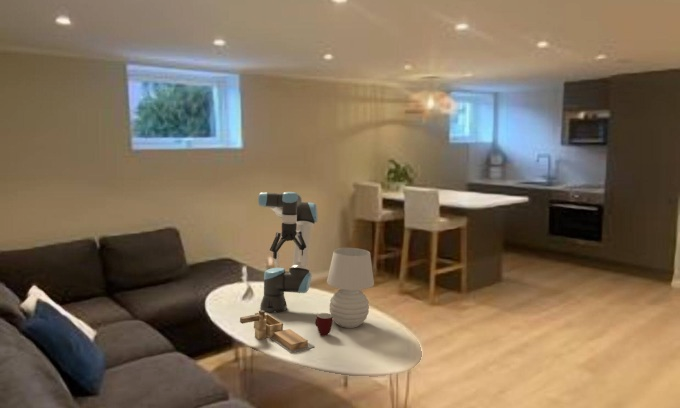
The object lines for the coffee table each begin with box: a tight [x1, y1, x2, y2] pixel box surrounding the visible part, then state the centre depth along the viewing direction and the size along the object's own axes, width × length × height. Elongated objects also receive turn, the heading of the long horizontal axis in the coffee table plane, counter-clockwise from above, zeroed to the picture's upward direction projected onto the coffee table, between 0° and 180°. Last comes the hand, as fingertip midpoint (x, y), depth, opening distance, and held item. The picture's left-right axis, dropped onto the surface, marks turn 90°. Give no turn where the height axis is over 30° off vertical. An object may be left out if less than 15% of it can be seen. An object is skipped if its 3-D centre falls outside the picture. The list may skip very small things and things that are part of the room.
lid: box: [274, 328, 309, 351], centre depth 249 cm, size 9×17×3 cm, turn 36°
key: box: [239, 309, 266, 324], centre depth 250 cm, size 12×2×4 cm, turn 126°
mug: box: [314, 312, 334, 337], centre depth 262 cm, size 11×8×10 cm
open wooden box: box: [253, 312, 284, 340], centre depth 261 cm, size 13×16×12 cm
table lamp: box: [326, 247, 375, 329], centre depth 275 cm, size 25×25×40 cm
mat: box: [270, 337, 315, 354], centre depth 250 cm, size 13×20×1 cm, turn 36°
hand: (288, 263), depth 264 cm, fingers open, 13 cm apart
